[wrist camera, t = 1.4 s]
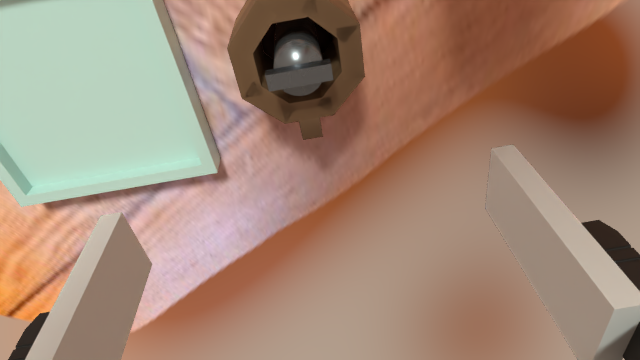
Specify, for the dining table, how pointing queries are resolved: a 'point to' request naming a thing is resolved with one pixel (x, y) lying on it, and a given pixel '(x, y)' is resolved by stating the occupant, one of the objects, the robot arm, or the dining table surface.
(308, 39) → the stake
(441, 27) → the dining table surface
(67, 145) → the tray
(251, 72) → the brown hollow ring piece
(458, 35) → the dining table surface
